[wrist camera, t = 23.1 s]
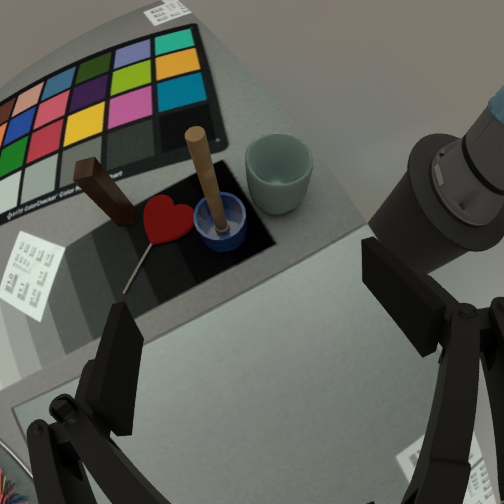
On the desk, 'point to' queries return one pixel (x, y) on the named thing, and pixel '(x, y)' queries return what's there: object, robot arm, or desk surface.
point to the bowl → (235, 218)
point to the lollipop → (164, 223)
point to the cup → (278, 171)
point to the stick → (207, 176)
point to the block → (104, 191)
